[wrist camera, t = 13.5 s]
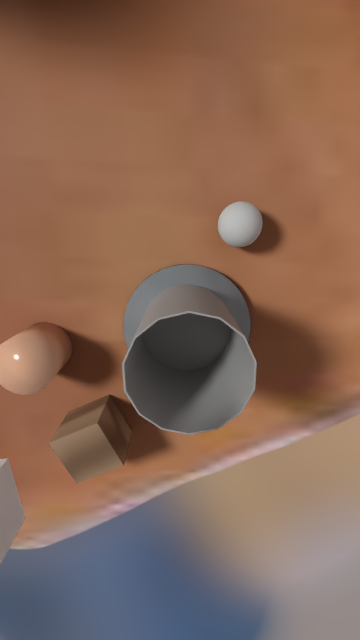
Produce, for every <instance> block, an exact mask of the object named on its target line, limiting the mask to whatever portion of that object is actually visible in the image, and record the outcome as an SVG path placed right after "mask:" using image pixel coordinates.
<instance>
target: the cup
mask: <svg viewBox="0 0 360 640" xmlns="http://www.w3.org/2000/svg"><path fill="white" fill-rule="evenodd" d="M256 366H257V361H256V359H255V357H254V355H253V353H252V351H251V348H250V346H249V344H248V342H247V340H246V338H245V336H244V334H243V332H242V331H241V329H240V328H239V326H238V325H237V323H236V321H235V320H234V318H233V317H232V315H231V313H230V312H229V310H228V309H227V307H226V305H225V304H224V302H223V301H222V300H221V299H220V298H219V297H217V296H216V295H215V294H214V293H212V292H211V291H210V290H209V289H207V288H205V287H200V286H196V285H191V284H182V285H178V286H173V287H169V288H166V289H165V290H163V291H162V292H161V293H160V294H158V295H157V296H156V297H155V298H154V299H152V300H151V301H150V303H149V305H148V307H147V310H146V312H145V314H144V316H143V318H142V320H141V323H140V325H139V327H138V329H137V331H136V334H135V336H134V338H133V340H132V342H131V345H130V347H129V349H128V351H127V354H126V356H125V358H124V360H123V363H122V370H123V383H124V392H125V393H126V395H127V397H128V398H129V400H130V401H131V403H132V405H133V406H134V408H135V410H136V411H137V413H138V414H139V415H140V416H142V417H143V418H145V419H146V420H148V421H149V422H151V423H152V424H154V425H155V426H157V427H158V428H160V429H161V430H166V431H171V432H177V433H182V434H187V435H192V434H197V433H201V432H206V431H211V430H216V429H219V428H220V427H222V426H223V425H224V424H226V423H227V422H229V421H230V420H232V419H233V418H235V417H236V416H238V415H239V414H241V412H242V411H243V409H244V407H245V406H246V404H247V402H248V401H249V399H250V397H251V396H252V394H253V392H254V391H255V382H256Z"/></svg>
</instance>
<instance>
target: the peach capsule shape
mask: <svg viewBox="0 0 360 640" xmlns="http://www.w3.org/2000/svg"><path fill="white" fill-rule="evenodd" d="M71 354H72V343H71V340H70V338H69V336H68V335H67V333H66V332H65V331H64V330H63V329H62V328H60V327H59V326H57V325H55V324H52V323H47V322H41V323H36V324H34V325H32V326H30V327H28V328H27V329H25V330H23V331H22V332H20V333H18V334H17V335H15V336H14V337H12V338H10V339H9V340H7V341H5V342H4V343H2V344H0V385H2V386H3V387H4V388H5V389H7V390H9V391H11V392H13V393H16V394H21V395H29V394H34V393H37V392H39V391H41V390H42V389H43V388H45V386H46V385H47V384H48V383H49V382H50V381H51V380H52V379H53V378H54V376H55V375H56V374H57V373H58V372H59V371H60V370H61V369H62V367H63V366H64V365H65V364H66V363H67V362H68V361H69V359H70V357H71Z"/></svg>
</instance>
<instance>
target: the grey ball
mask: <svg viewBox="0 0 360 640" xmlns="http://www.w3.org/2000/svg"><path fill="white" fill-rule="evenodd" d="M262 224H263V222H262V216H261V214H260V212H259V210H258V209H257V208H256V207H255V206H254V205H252V204H251V203H248V202H244V201H240V202H235V203H232V204H230V205H229V206H227V207H226V208H225V209H224V210H223V212H222V213H221V215H220V217H219V221H218V231H219V234H220V236H221V238H222V239H223V240H224V241H225V242H226V243H227V244H229V245H230V246H233V247H245V246H248V245H250V244H251V243H253V242H254V241H255V240H256V239H257V238H258V236H259V235H260V233H261V230H262Z"/></svg>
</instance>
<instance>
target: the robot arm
mask: <svg viewBox="0 0 360 640" xmlns="http://www.w3.org/2000/svg"><path fill="white" fill-rule="evenodd" d="M24 519H25V515H24V511H23V508H22V505H21V501H20V498H19V495H18V491H17V488H16V485H15V481H14V478H13V475H12V471H11V468H10V465H9V461H8V459H0V564H1V562H2V560H3V558H4V557H5V555H6V553H7V551H8V549H9V547H10V545H11V544H12V542H13V540H14V538H15V536H16V534H17V532H18V531H19V529H20V527H21V525H22V523H23V521H24Z"/></svg>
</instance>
